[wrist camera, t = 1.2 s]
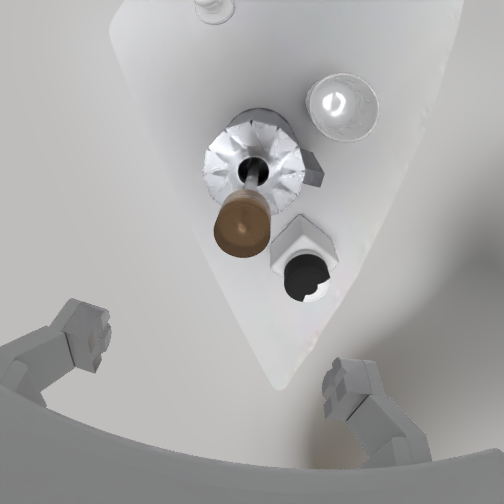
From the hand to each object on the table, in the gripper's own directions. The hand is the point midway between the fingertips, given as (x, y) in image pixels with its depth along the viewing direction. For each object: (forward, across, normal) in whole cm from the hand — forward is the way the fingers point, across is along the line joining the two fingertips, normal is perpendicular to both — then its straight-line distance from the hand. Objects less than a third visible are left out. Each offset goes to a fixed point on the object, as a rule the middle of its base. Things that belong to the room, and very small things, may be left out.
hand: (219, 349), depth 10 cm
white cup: (+37, -8, -8) cm, 39 cm away
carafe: (+37, -1, 0) cm, 37 cm away
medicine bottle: (+37, -10, +14) cm, 41 cm away
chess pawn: (+37, +10, -18) cm, 43 cm away
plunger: (+27, 0, 0) cm, 27 cm away
